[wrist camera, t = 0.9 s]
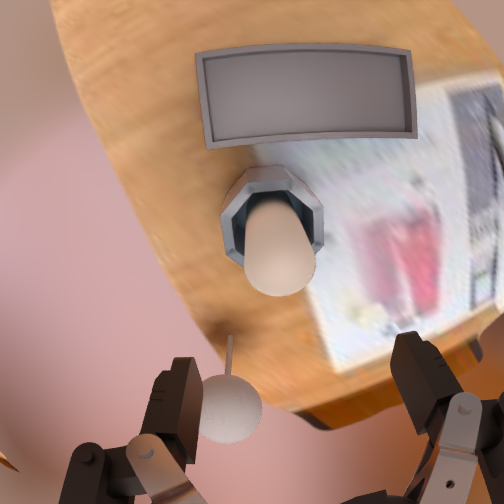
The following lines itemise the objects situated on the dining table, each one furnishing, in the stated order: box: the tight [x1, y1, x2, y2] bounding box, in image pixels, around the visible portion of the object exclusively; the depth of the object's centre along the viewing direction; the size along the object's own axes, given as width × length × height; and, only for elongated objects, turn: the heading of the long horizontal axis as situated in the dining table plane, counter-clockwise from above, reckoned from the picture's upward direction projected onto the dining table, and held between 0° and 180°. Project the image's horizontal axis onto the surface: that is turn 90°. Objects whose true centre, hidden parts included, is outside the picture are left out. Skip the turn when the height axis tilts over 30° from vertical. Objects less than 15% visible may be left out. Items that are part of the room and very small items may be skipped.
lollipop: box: [199, 334, 262, 443], centre depth 31 cm, size 7×7×15 cm
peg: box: [244, 190, 316, 296], centre depth 24 cm, size 4×4×12 cm
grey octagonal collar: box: [220, 165, 324, 267], centre depth 27 cm, size 8×8×7 cm
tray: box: [195, 43, 418, 150], centre depth 25 cm, size 20×9×2 cm, turn 96°
